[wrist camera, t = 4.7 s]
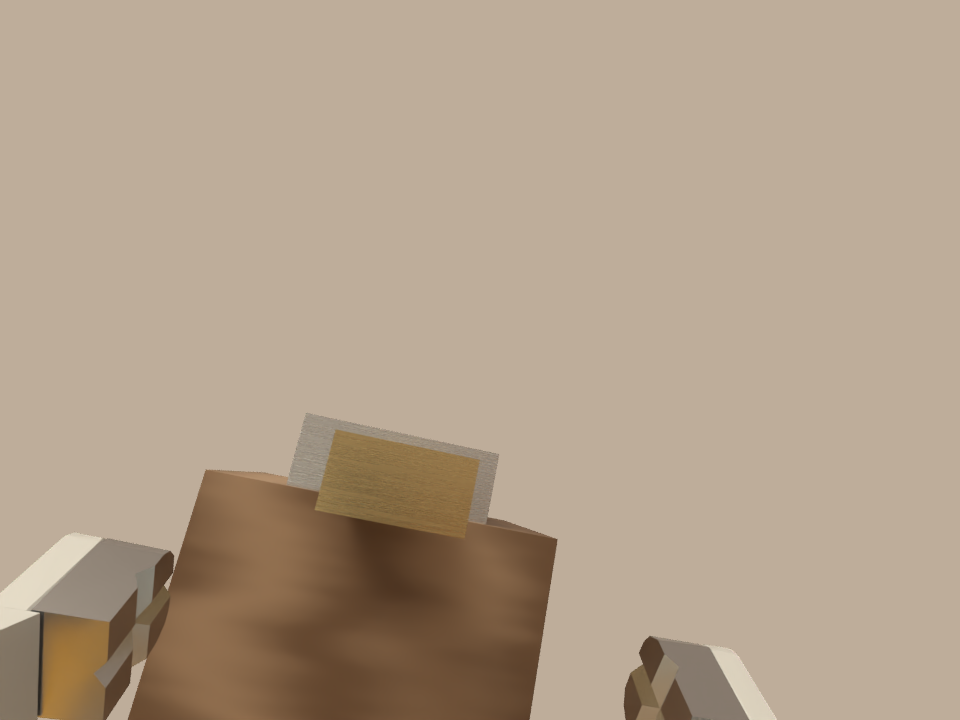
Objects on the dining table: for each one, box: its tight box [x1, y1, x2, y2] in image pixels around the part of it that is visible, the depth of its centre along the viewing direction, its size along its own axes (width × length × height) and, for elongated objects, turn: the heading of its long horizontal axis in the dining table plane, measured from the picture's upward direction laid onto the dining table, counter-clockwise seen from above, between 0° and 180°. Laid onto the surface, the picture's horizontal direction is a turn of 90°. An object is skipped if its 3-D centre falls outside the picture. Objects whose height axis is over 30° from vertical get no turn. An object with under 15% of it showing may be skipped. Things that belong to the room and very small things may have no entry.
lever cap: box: [286, 413, 499, 539], centre depth 19 cm, size 7×16×2 cm, turn 10°
